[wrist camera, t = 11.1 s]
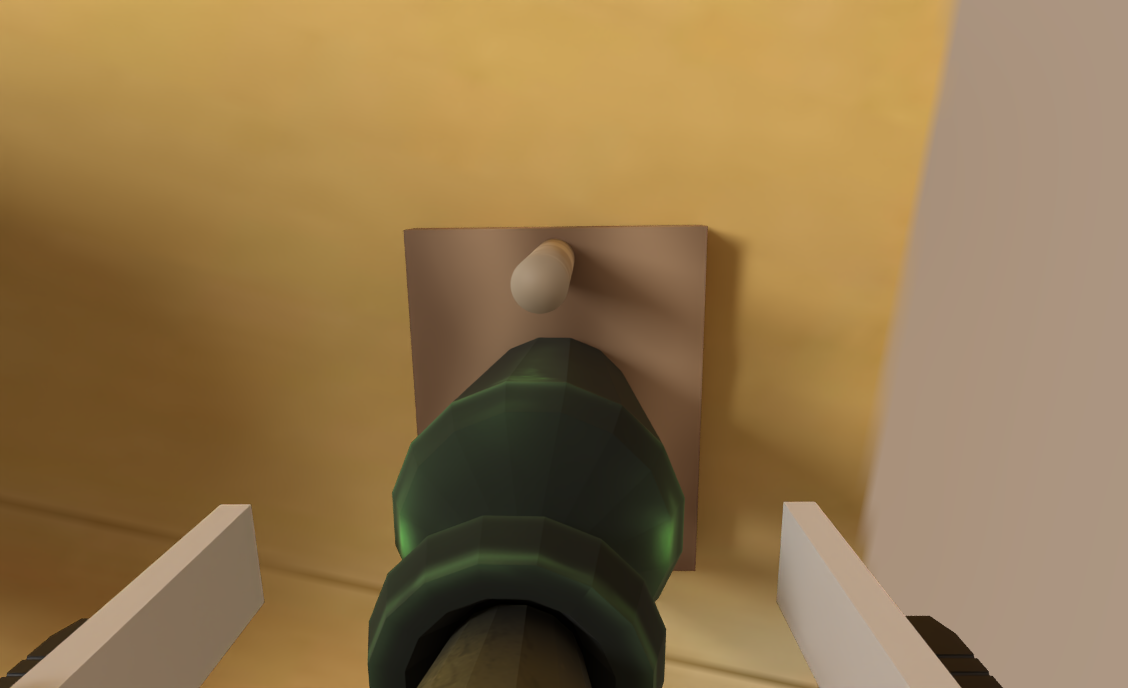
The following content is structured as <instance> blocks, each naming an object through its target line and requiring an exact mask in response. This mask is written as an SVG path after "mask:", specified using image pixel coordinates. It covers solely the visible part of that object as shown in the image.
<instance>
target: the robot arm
mask: <svg viewBox="0 0 1128 688" xmlns="http://www.w3.org/2000/svg"><path fill="white" fill-rule="evenodd" d="M263 603H264V595H263V588H262V581H261V574H260V566H259V559H258V552H257V544H256V537H255V530H254V522H253V515H252V508H251V504H220V505H219V506H218V507H217V508H216V509H215V510H213V511H212V512H211V513H210V514H209V515H208V516H207V517H205V518H204V519H203V520H202V521H201V522H200V523H199V524H197V525H196V526H195V527H194V528H193V529H192V530H191V531H189V532H188V533H187V534H186V535H185V536H184V537H182V538H181V539H180V540H179V541H178V542H177V543H176V544H174V545H173V546H172V547H171V548H170V549H169V550H168V551H166V552H165V553H164V554H163V555H162V556H161V557H160V558H158V559H157V560H156V561H155V562H154V563H153V564H151V565H150V566H149V567H148V568H147V569H146V570H145V571H143V572H142V573H141V574H140V575H139V576H138V577H137V578H135V579H134V580H133V581H132V582H131V583H130V584H129V585H127V586H126V587H125V588H124V589H123V590H122V591H120V592H119V593H118V594H117V595H116V596H115V597H114V598H112V599H111V600H110V601H109V602H108V603H107V604H106V605H104V606H103V607H102V608H101V609H100V610H99V611H98V612H96V613H95V614H94V615H93V616H92V617H91V618H89V619H80V620H79V621H77V622H75V623H73V624H71V625H70V626H68V627H66V628H64V629H63V630H61V631H59V632H57V633H55V634H54V635H52V636H50V637H49V638H48V639H47V640H46V641H44V642H43V643H42V644H41V645H40V646H39V647H37V648H36V649H35V650H34V651H33V652H31V653H30V654H29V655H28V656H27V659H26V660H22V661H21V662H20V663H18V664H17V665H16V666H15V667H14V668H12V669H11V670H10V671H9V672H8V673H7V676H6V677H2V678H0V688H199V687H200V686H201V685H202V683H203V682H204V681H205V679H206V678H207V677H208V676H209V674H210V673H211V672H212V670H213V669H214V668H215V666H216V665H217V664H218V662H219V661H220V660H221V658H222V657H223V656H224V655H225V653H226V652H227V651H228V649H229V648H230V647H231V645H232V644H233V643H234V641H235V640H236V639H237V638H238V636H239V635H240V634H241V632H242V631H243V630H244V628H245V627H246V626H247V624H248V623H249V622H250V621H251V619H252V618H253V617H254V615H255V614H256V613H257V611H258V610H259V609H260V607H261V606H262V605H263ZM777 603H778V605H779V607H780V609H781V611H782V613H783V615H784V617H785V619H786V622H787V624H788V626H789V628H790V630H791V632H792V634H793V636H794V638H795V640H796V642H797V644H798V646H799V648H800V650H801V652H802V654H803V656H804V658H805V660H806V662H807V664H808V666H809V668H810V670H811V672H812V674H813V676H814V678H815V680H816V682H817V684H818V686H819V688H1003V687H1001V685H1000V684H999V683H998V682H997V681H996V679H995V678H994V677H993V676H990V675H989V671H988V670H987V669H986V668H985V667H984V666H983V665H982V663H981V662H980V661H979V660H978V659H977V658H974V654H973V653H972V652H971V651H970V650H969V648H968V647H967V646H966V645H965V644H964V643H963V642H962V640H961V639H960V638H959V637H958V636H957V635H956V634H955V633H954V632H953V631H951V630H950V629H948V628H946V627H945V626H944V625H942V624H941V623H939V622H938V621H936V620H935V619H933V618H932V617H930V616H905V615H904V614H903V613H902V612H901V610H900V609H899V608H898V606H897V605H896V604H895V603H894V601H893V600H892V599H891V598H890V596H889V595H888V594H887V592H886V591H885V590H884V589H883V587H882V586H881V585H880V584H879V582H878V581H877V580H876V578H875V577H874V576H873V575H872V573H871V572H870V571H869V570H868V568H867V567H866V566H865V564H864V563H863V562H862V561H861V559H860V558H859V557H858V556H857V554H856V553H855V552H854V550H853V549H852V548H851V547H850V545H849V544H848V543H847V542H846V540H845V539H844V538H843V536H842V535H841V534H840V533H839V531H838V530H837V529H836V528H835V526H834V525H833V524H832V522H831V521H830V520H829V519H828V517H827V516H826V515H825V514H824V512H823V511H822V510H821V508H820V507H819V506H818V505H817V503H816V502H784V503H783V517H782V532H781V546H780V560H779V574H778V588H777Z"/></svg>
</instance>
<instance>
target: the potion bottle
mask: <svg viewBox="0 0 1128 688" xmlns="http://www.w3.org/2000/svg"><path fill="white" fill-rule="evenodd" d="M392 498H393V513H394V528H395V544H396V547H397V549H398V552H399V554H400V556H401V558H402V561H401V562H400V563H399V564H397V565H396V566H395V567H394V568H393V569H392V570H391V571H390V572H389V573H388V574H387V577H386V579H385V582H384V585H383V587H382V590H381V592H380V595H379V597H378V600H377V602H376V605H375V608H374V610H373V613H372V615H371V618H370V620H369V637H368V673H369V686H370V688H662V686H663V682H664V669H665V643H666V628H665V625H664V623H663V621H662V619H661V616H660V614H659V612H658V609H657V607H656V605H655V601H656V600H657V599H658V598H659V596H660V594H661V592H662V590H663V588H664V586H665V584H666V582H667V580H668V579H669V577H670V575H671V573H672V571H673V569H674V567H675V565H676V563H677V561H678V559H679V557H680V555H681V553H682V551H683V529H684V507H685V497H684V494H683V492H682V489H681V487H680V484H679V482H678V480H677V477H676V475H675V472H674V470H673V467H672V465H671V462H670V460H669V457H668V455H667V452H666V450H665V447H664V445H663V444H662V442H661V440H660V438H659V436H658V435H657V433H656V431H655V429H654V428H653V426H652V424H651V422H650V421H649V419H648V417H647V415H646V413H645V412H644V410H643V408H642V406H641V405H640V403H639V401H638V399H637V398H636V396H635V394H634V392H633V390H632V389H631V387H630V385H629V383H628V382H627V380H626V378H625V376H624V375H623V373H622V371H621V370H620V369H619V368H618V367H617V366H616V365H615V364H614V363H613V362H612V361H611V360H610V359H609V358H608V357H607V356H606V355H605V354H604V353H603V352H602V351H601V350H599V349H597V348H594V347H592V346H590V345H587V344H585V343H582V342H580V341H577V340H575V339H573V338H545V337H539V338H536V339H534V340H531V341H529V342H526V343H524V344H521V345H519V346H516V347H514V348H511V349H509V350H508V351H507V352H506V353H505V354H504V355H503V356H502V357H501V358H500V359H499V360H498V361H496V362H495V363H494V364H493V365H492V366H491V367H490V368H489V369H488V370H487V371H486V372H485V373H483V374H482V375H481V376H480V377H479V378H478V379H477V380H476V381H475V382H474V383H473V384H472V385H470V386H469V387H468V388H467V389H466V390H465V391H464V392H463V393H462V394H461V395H460V396H459V397H457V398H456V399H455V400H454V401H453V402H452V403H451V404H450V405H449V406H448V407H447V408H446V409H445V410H444V411H443V412H442V413H441V414H440V415H439V416H438V417H437V418H436V419H435V420H434V421H433V422H432V423H431V424H430V425H429V426H428V427H427V428H426V429H425V430H424V431H423V432H422V433H421V434H420V435H419V436H418V437H417V438H416V439H415V440H414V441H413V442H412V443H411V445H410V447H409V450H408V453H407V455H406V458H405V460H404V463H403V466H402V468H401V471H400V474H399V476H398V479H397V482H396V484H395V487H394V489H393V492H392Z"/></svg>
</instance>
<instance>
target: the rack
mask: <svg viewBox="0 0 1128 688" xmlns="http://www.w3.org/2000/svg"><path fill="white" fill-rule="evenodd" d="M707 230H708V226H703V225H658V226H576V227H493V228H414V229H407V230H404V243H405V257H406V272H407V287H408V301H409V316H410V331H411V345H412V360H413V374H414V389H415V404H416V418H417V433H418V436H419V435H420V434H421V433H422V432H423V431H424V430H425V429H426V428H427V427H428V426H429V425H430V424H431V423H432V422H433V421H434V420H435V419H436V418H437V417H438V416H439V415H440V414H441V413H442V412H443V411H444V410H445V409H446V408H447V407H448V406H449V405H450V404H451V403H452V402H453V401H454V400H455V399H456V398H457V397H459V396H460V395H461V394H462V393H463V392H464V391H465V390H466V389H467V388H468V387H469V386H470V385H472V384H473V383H474V382H475V381H476V380H477V379H478V378H479V377H480V376H481V375H482V374H483V373H485V372H486V371H487V370H488V369H489V368H490V367H491V366H492V365H493V364H494V363H495V362H496V361H498V360H499V359H500V358H501V357H502V356H503V355H504V354H505V353H506V352H507V351H508V350H509V349H511V348H514V347H516V346H519V345H521V344H524V343H526V342H529V341H531V340H534V339H536V338H539V337H545V338H573V339H575V340H577V341H580V342H582V343H585V344H587V345H590V346H592V347H594V348H597V349H599V350H601V351H602V352H603V353H604V354H605V355H606V356H607V357H608V358H609V359H610V360H611V361H612V362H613V363H614V364H615V365H616V366H617V367H618V368H619V369H620V370H621V371H622V373H623V375H624V376H625V378H626V380H627V382H628V383H629V385H630V387H631V389H632V390H633V392H634V394H635V396H636V398H637V399H638V401H639V403H640V405H641V406H642V408H643V410H644V412H645V413H646V415H647V417H648V419H649V421H650V422H651V424H652V426H653V428H654V429H655V431H656V433H657V435H658V436H659V438H660V440H661V442H662V444H663V445H664V447H665V450H666V452H667V455H668V457H669V460H670V462H671V465H672V467H673V470H674V472H675V475H676V477H677V480H678V482H679V484H680V487H681V489H682V492H683V494H684V497H685V507H684V529H683V551H682V553H681V555H680V557H679V559H678V561H677V563H676V565H675V567H674V569H673V571H695V564H696V536H697V508H698V480H699V453H700V425H701V397H702V369H703V341H704V314H705V286H706V258H707Z"/></svg>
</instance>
